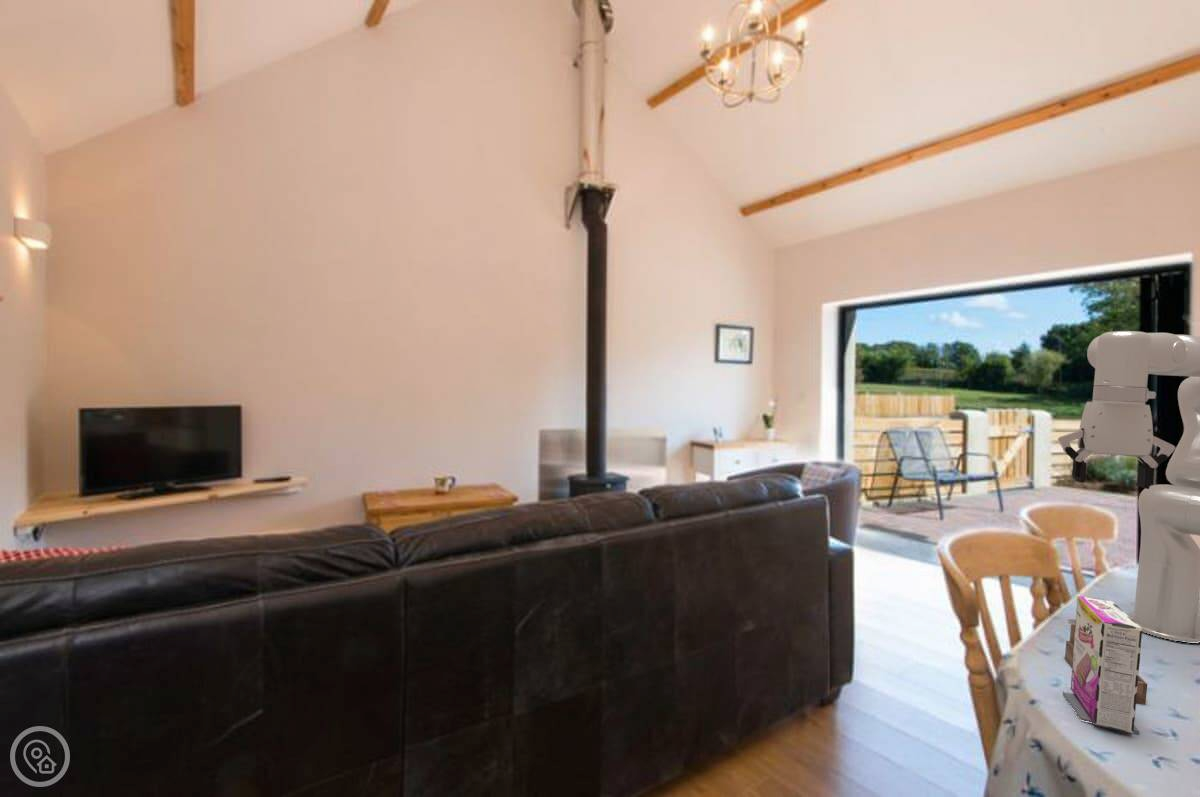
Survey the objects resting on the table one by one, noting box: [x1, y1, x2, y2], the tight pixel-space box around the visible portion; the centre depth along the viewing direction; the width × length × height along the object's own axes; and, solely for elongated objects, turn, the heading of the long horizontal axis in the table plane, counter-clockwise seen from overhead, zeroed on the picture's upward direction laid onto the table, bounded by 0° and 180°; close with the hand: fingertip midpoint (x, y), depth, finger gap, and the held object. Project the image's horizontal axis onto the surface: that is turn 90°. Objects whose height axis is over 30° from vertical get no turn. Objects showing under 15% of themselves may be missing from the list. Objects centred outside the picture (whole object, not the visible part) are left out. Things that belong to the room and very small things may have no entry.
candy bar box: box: [1070, 595, 1143, 734], centre depth 89 cm, size 11×5×16 cm, turn 156°
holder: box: [1064, 617, 1148, 705], centre depth 100 cm, size 7×13×8 cm, turn 156°
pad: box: [1062, 691, 1141, 736], centre depth 90 cm, size 7×8×1 cm
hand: (1110, 484), depth 109 cm, fingers open, 9 cm apart
